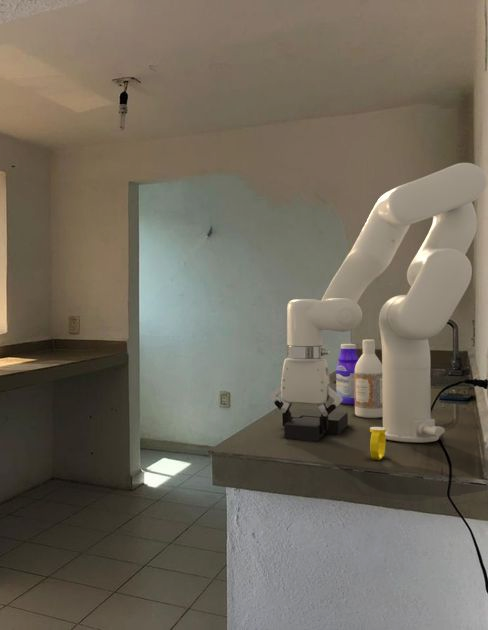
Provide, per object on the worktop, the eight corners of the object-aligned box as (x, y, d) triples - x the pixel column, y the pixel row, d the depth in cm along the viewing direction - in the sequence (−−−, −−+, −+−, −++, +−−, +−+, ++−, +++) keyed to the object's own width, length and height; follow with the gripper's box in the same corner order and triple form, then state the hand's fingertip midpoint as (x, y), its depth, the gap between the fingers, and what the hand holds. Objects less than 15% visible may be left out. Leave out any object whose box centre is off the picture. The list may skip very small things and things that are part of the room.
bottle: (332, 402, 193) (331, 343, 193) (348, 401, 195) (347, 343, 194) (349, 406, 186) (349, 345, 186) (366, 404, 188) (365, 344, 188)
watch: (374, 454, 130) (374, 424, 130) (389, 456, 128) (389, 426, 128) (366, 460, 125) (366, 429, 125) (381, 462, 123) (381, 431, 123)
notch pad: (347, 425, 159) (347, 412, 159) (338, 434, 149) (338, 420, 149) (297, 421, 166) (297, 408, 166) (285, 429, 156) (284, 416, 155)
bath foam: (349, 415, 171) (348, 340, 171) (365, 412, 175) (364, 338, 175) (373, 419, 166) (372, 341, 165) (389, 416, 169) (389, 339, 169)
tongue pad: (327, 431, 152) (327, 418, 152) (317, 441, 143) (316, 427, 142) (296, 429, 156) (296, 415, 156) (284, 438, 146) (284, 424, 146)
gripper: (348, 353, 146) (348, 432, 147) (270, 351, 156) (271, 425, 156) (342, 356, 140) (342, 438, 140) (261, 353, 149) (262, 430, 150)
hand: (305, 430), depth 148 cm, fingers closed on tongue pad, 7 cm apart
